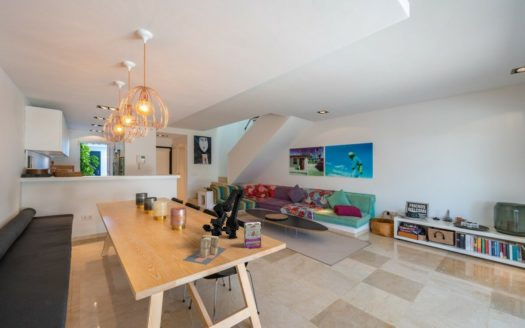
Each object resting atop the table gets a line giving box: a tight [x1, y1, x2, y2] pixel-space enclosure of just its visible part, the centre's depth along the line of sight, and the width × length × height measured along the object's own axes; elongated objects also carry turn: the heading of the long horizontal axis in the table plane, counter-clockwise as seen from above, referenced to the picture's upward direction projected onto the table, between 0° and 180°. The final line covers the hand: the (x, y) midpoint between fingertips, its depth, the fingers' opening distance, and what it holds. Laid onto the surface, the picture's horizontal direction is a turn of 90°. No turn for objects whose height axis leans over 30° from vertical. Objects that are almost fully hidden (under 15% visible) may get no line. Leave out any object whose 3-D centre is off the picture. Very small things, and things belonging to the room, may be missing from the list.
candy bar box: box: [243, 221, 262, 249], centre depth 144 cm, size 11×5×16 cm, turn 105°
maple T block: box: [200, 234, 220, 258], centre depth 129 cm, size 9×10×10 cm
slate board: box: [182, 246, 227, 266], centre depth 130 cm, size 24×16×1 cm, turn 162°
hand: (211, 241), depth 134 cm, fingers closed
